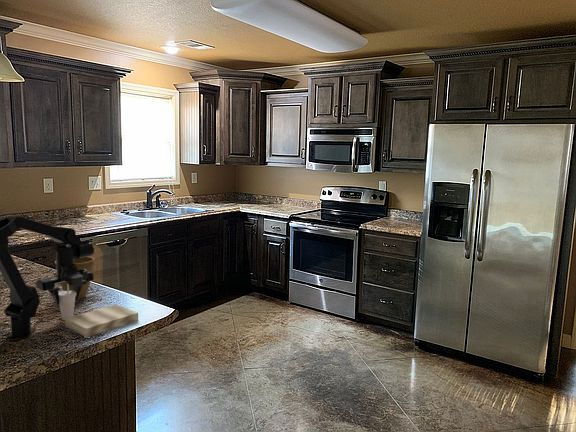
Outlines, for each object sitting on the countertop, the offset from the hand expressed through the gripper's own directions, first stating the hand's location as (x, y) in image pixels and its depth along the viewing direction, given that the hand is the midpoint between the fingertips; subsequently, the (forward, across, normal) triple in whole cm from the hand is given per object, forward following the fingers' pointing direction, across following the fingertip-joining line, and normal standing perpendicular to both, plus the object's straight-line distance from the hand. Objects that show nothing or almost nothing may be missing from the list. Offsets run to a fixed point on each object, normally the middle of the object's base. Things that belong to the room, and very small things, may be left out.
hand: (66, 302), depth 163 cm
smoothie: (+6, 0, 0) cm, 6 cm away
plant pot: (+6, +15, +22) cm, 27 cm away
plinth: (+6, +6, -14) cm, 16 cm away
